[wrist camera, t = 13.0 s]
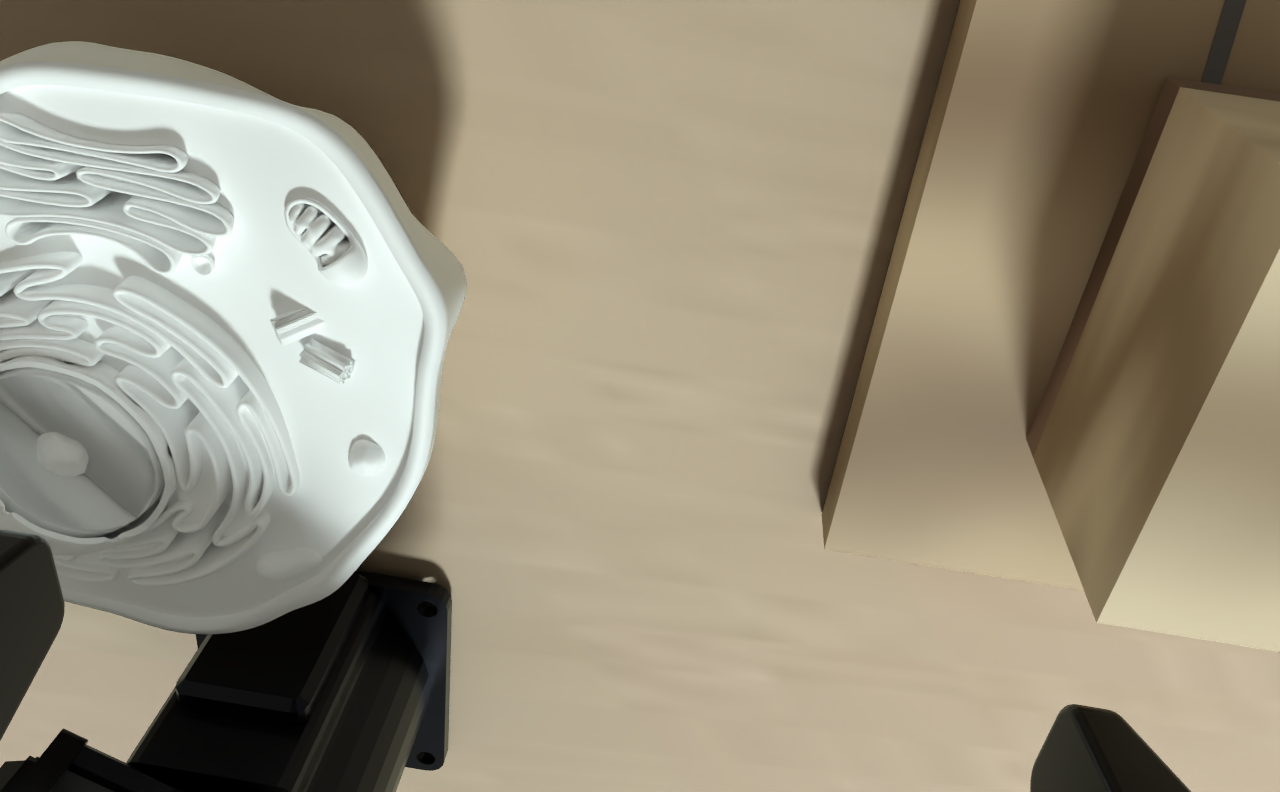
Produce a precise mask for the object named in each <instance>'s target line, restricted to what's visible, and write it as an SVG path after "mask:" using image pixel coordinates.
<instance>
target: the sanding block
mask: <svg viewBox="0 0 1280 792" xmlns="http://www.w3.org/2000/svg"><path fill="white" fill-rule="evenodd" d="M1026 441H1027V443H1028V446H1029V448H1030V451H1031V454H1032V456H1033V459H1034V461H1035V464H1036V467H1037V469H1038V472H1039V474H1040V477H1041V480H1042V482H1043V485H1044V487H1045V490H1046V493H1047V495H1048V498H1049V500H1050V503H1051V506H1052V508H1053V511H1054V513H1055V516H1056V519H1057V521H1058V524H1059V526H1060V529H1061V532H1062V534H1063V537H1064V539H1065V542H1066V545H1067V547H1068V550H1069V552H1070V555H1071V557H1072V560H1073V563H1074V565H1075V568H1076V570H1077V573H1078V576H1079V578H1080V581H1081V583H1082V586H1083V589H1084V591H1085V594H1086V596H1087V599H1088V602H1089V604H1090V607H1091V609H1092V612H1093V615H1094V617H1095V620H1096V622H1097V623H1102V624H1109V625H1115V626H1121V627H1127V628H1133V629H1140V630H1146V631H1152V632H1158V633H1165V634H1171V635H1177V636H1183V637H1189V638H1196V639H1202V640H1208V641H1214V642H1221V643H1227V644H1233V645H1239V646H1245V647H1252V648H1258V649H1264V650H1270V651H1277V652H1280V93H1274V92H1267V91H1260V90H1253V89H1246V88H1239V87H1233V86H1226V85H1219V84H1212V83H1205V82H1198V81H1191V80H1185V79H1178V78H1171V77H1167V78H1166V81H1165V84H1164V86H1163V89H1162V91H1161V94H1160V97H1159V99H1158V102H1157V104H1156V107H1155V109H1154V112H1153V115H1152V117H1151V120H1150V122H1149V125H1148V127H1147V130H1146V133H1145V135H1144V138H1143V140H1142V143H1141V145H1140V148H1139V151H1138V153H1137V156H1136V158H1135V161H1134V163H1133V166H1132V169H1131V171H1130V174H1129V176H1128V179H1127V181H1126V184H1125V187H1124V189H1123V192H1122V194H1121V197H1120V200H1119V202H1118V205H1117V207H1116V210H1115V212H1114V215H1113V218H1112V220H1111V223H1110V225H1109V228H1108V230H1107V233H1106V236H1105V238H1104V241H1103V243H1102V246H1101V248H1100V251H1099V254H1098V256H1097V259H1096V261H1095V264H1094V266H1093V269H1092V272H1091V274H1090V277H1089V279H1088V282H1087V284H1086V287H1085V290H1084V292H1083V295H1082V297H1081V300H1080V303H1079V305H1078V308H1077V310H1076V313H1075V315H1074V318H1073V321H1072V323H1071V326H1070V328H1069V331H1068V333H1067V336H1066V339H1065V341H1064V344H1063V346H1062V349H1061V351H1060V354H1059V357H1058V359H1057V362H1056V364H1055V367H1054V369H1053V372H1052V375H1051V377H1050V380H1049V382H1048V385H1047V388H1046V390H1045V393H1044V395H1043V398H1042V400H1041V403H1040V406H1039V408H1038V411H1037V413H1036V416H1035V418H1034V421H1033V424H1032V426H1031V429H1030V431H1029V434H1028V436H1027V439H1026Z"/></svg>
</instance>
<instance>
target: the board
mask: <svg viewBox="0 0 1280 792" xmlns="http://www.w3.org/2000/svg"><path fill="white" fill-rule="evenodd" d="M1167 77H1171V78H1178V79H1185V80H1191V81H1198V82H1205V83H1212V84H1219V85H1226V86H1233V87H1239V88H1246V89H1253V90H1260V91H1267V92H1274V93H1280V0H960V4H959V7H958V11H957V15H956V19H955V22H954V26H953V30H952V33H951V37H950V41H949V45H948V48H947V52H946V56H945V59H944V63H943V67H942V71H941V74H940V78H939V82H938V85H937V89H936V93H935V97H934V100H933V104H932V108H931V111H930V115H929V119H928V122H927V126H926V130H925V134H924V137H923V141H922V145H921V148H920V152H919V156H918V160H917V163H916V167H915V171H914V174H913V178H912V182H911V186H910V189H909V193H908V197H907V200H906V204H905V208H904V212H903V215H902V219H901V223H900V226H899V230H898V234H897V238H896V241H895V245H894V249H893V252H892V256H891V260H890V264H889V267H888V271H887V275H886V278H885V282H884V286H883V290H882V293H881V297H880V301H879V304H878V308H877V312H876V315H875V319H874V323H873V327H872V330H871V334H870V338H869V341H868V345H867V349H866V353H865V356H864V360H863V364H862V367H861V371H860V375H859V379H858V382H857V386H856V390H855V393H854V397H853V401H852V405H851V408H850V412H849V416H848V419H847V423H846V427H845V431H844V434H843V438H842V442H841V445H840V449H839V453H838V457H837V460H836V464H835V468H834V471H833V475H832V479H831V483H830V486H829V490H828V494H827V497H826V501H825V505H824V509H823V512H822V523H823V537H824V549H826V550H832V551H838V552H844V553H851V554H857V555H863V556H869V557H875V558H882V559H888V560H894V561H900V562H907V563H913V564H919V565H925V566H932V567H938V568H944V569H950V570H957V571H963V572H969V573H975V574H982V575H988V576H994V577H1000V578H1006V579H1013V580H1019V581H1025V582H1031V583H1038V584H1044V585H1050V586H1056V587H1063V588H1069V589H1075V590H1081V591H1084V589H1083V586H1082V583H1081V581H1080V578H1079V576H1078V573H1077V570H1076V568H1075V565H1074V563H1073V560H1072V557H1071V555H1070V552H1069V550H1068V547H1067V545H1066V542H1065V539H1064V537H1063V534H1062V532H1061V529H1060V526H1059V524H1058V521H1057V519H1056V516H1055V513H1054V511H1053V508H1052V506H1051V503H1050V500H1049V498H1048V495H1047V493H1046V490H1045V487H1044V485H1043V482H1042V480H1041V477H1040V474H1039V472H1038V469H1037V467H1036V464H1035V461H1034V459H1033V456H1032V454H1031V451H1030V448H1029V446H1028V443H1027V441H1026V439H1027V436H1028V434H1029V431H1030V429H1031V426H1032V424H1033V421H1034V418H1035V416H1036V413H1037V411H1038V408H1039V406H1040V403H1041V400H1042V398H1043V395H1044V393H1045V390H1046V388H1047V385H1048V382H1049V380H1050V377H1051V375H1052V372H1053V369H1054V367H1055V364H1056V362H1057V359H1058V357H1059V354H1060V351H1061V349H1062V346H1063V344H1064V341H1065V339H1066V336H1067V333H1068V331H1069V328H1070V326H1071V323H1072V321H1073V318H1074V315H1075V313H1076V310H1077V308H1078V305H1079V303H1080V300H1081V297H1082V295H1083V292H1084V290H1085V287H1086V284H1087V282H1088V279H1089V277H1090V274H1091V272H1092V269H1093V266H1094V264H1095V261H1096V259H1097V256H1098V254H1099V251H1100V248H1101V246H1102V243H1103V241H1104V238H1105V236H1106V233H1107V230H1108V228H1109V225H1110V223H1111V220H1112V218H1113V215H1114V212H1115V210H1116V207H1117V205H1118V202H1119V200H1120V197H1121V194H1122V192H1123V189H1124V187H1125V184H1126V181H1127V179H1128V176H1129V174H1130V171H1131V169H1132V166H1133V163H1134V161H1135V158H1136V156H1137V153H1138V151H1139V148H1140V145H1141V143H1142V140H1143V138H1144V135H1145V133H1146V130H1147V127H1148V125H1149V122H1150V120H1151V117H1152V115H1153V112H1154V109H1155V107H1156V104H1157V102H1158V99H1159V97H1160V94H1161V91H1162V89H1163V86H1164V84H1165V81H1166V78H1167Z"/></svg>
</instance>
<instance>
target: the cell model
mask: <svg viewBox="0 0 1280 792" xmlns="http://www.w3.org/2000/svg"><path fill="white" fill-rule="evenodd" d="M466 287H467V283H466V278H465V272H464V268H463V266H462V264H461V263H460V262H459V260H458V259H457V258H456V256H455V255H454V254H453V253H452V252H451V251H450V250H449V249H448V248H447V247H446V246H445V245H444V244H443V243H442V242H441V241H440V240H438V239H437V238H436V237H435V236H434V235H433V234H431V233H430V232H429V231H428V230H427V229H426V228H425V227H424V226H423V225H422V224H421V223H420V222H419V221H418V220H417V219H416V218H415V217H414V216H413V215H412V213H411V212H410V210H409V208H408V207H407V205H406V203H405V202H404V200H403V198H402V196H401V195H400V193H399V191H398V189H397V188H396V186H395V184H394V183H393V181H392V179H391V177H390V176H389V174H388V173H387V171H386V169H385V168H384V166H383V165H382V163H381V162H380V160H379V158H378V157H377V155H376V154H375V153H374V151H373V150H372V149H371V147H370V146H369V145H368V143H367V142H366V141H365V140H364V139H363V138H362V137H361V135H360V134H359V133H358V132H357V131H356V130H355V129H354V128H353V127H352V126H350V125H349V124H347V123H346V122H344V121H343V120H341V119H340V118H338V117H337V116H335V115H332V114H329V113H326V112H323V111H320V110H317V109H312V108H306V107H301V106H297V105H293V104H290V103H288V102H285V101H282V100H280V99H278V98H275V97H273V96H271V95H269V94H267V93H265V92H263V91H261V90H259V89H257V88H255V87H253V86H251V85H249V84H247V83H245V82H243V81H240V80H238V79H236V78H234V77H232V76H229V75H227V74H225V73H222V72H219V71H217V70H214V69H211V68H208V67H205V66H202V65H199V64H195V63H192V62H189V61H186V60H182V59H178V58H174V57H170V56H166V55H161V54H156V53H150V52H143V51H136V50H130V49H123V48H118V47H112V46H107V45H103V44H97V43H92V42H83V41H69V42H56V43H50V44H46V45H42V46H38V47H35V48H32V49H29V50H26V51H23V52H20V53H18V54H15V55H13V56H10V57H8V58H6V59H4V60H2V61H0V530H10V531H16V532H22V533H28V534H35V535H39V536H41V537H43V538H44V539H45V540H46V541H47V542H48V543H49V545H50V547H51V550H52V554H53V558H54V562H55V566H56V570H57V574H58V578H59V582H60V586H61V590H62V594H63V598H64V601H66V602H70V603H74V604H78V605H81V606H86V607H90V608H94V609H98V610H102V611H106V612H110V613H114V614H117V615H120V616H123V617H126V618H129V619H132V620H135V621H138V622H141V623H144V624H148V625H151V626H154V627H158V628H161V629H165V630H170V631H175V632H181V633H190V634H223V633H232V632H238V631H243V630H247V629H251V628H254V627H257V626H260V625H263V624H265V623H267V622H270V621H272V620H274V619H276V618H278V617H280V616H282V615H284V614H286V613H288V612H291V611H293V610H295V609H298V608H301V607H304V606H307V605H310V604H312V603H315V602H317V601H320V600H322V599H324V598H325V597H327V596H329V595H331V594H332V593H333V592H335V591H336V590H337V589H338V588H339V587H340V586H342V585H343V584H344V583H345V582H346V581H347V580H348V578H349V577H350V576H351V575H352V574H353V573H354V572H355V571H356V569H357V568H358V567H359V566H360V565H361V563H362V562H363V561H364V560H365V559H366V558H367V557H368V555H369V554H370V553H371V552H372V551H373V550H374V549H375V547H376V546H377V545H378V544H379V543H380V542H381V540H382V539H383V538H384V537H385V535H386V534H387V533H388V532H389V530H390V529H391V528H392V527H393V525H394V524H395V523H396V521H397V520H398V518H399V517H400V515H401V514H402V512H403V511H404V509H405V508H406V506H407V504H408V503H409V501H410V499H411V498H412V496H413V494H414V492H415V490H416V489H417V487H418V485H419V483H420V481H421V479H422V477H423V475H424V473H425V470H426V468H427V466H428V463H429V460H430V457H431V453H432V450H433V446H434V441H435V436H436V429H437V420H438V411H439V399H440V387H441V379H442V370H443V363H444V357H445V352H446V348H447V344H448V340H449V337H450V334H451V332H452V330H453V327H454V325H455V323H456V320H457V318H458V316H459V313H460V310H461V308H462V305H463V302H464V299H465V293H466Z"/></svg>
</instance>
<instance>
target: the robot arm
mask: <svg viewBox="0 0 1280 792" xmlns="http://www.w3.org/2000/svg"><path fill="white" fill-rule="evenodd" d="M425 602H430V603H432V604H434V605H435V606H430V605H428V604H426V603H425ZM451 616H452V600H451V596H450V594H449V593H448V592H447V590H446V589H444V588H443V587H441V586H440V585H437V584H433V583H428V582H422V581H416V580H410V579H404V578H398V577H392V576H386V575H379V574H373V573H367V572H361V571H355V572H354V573H353V574H352V575H351V576H350V577H349V578H348V580H347V581H346V582H345V583H344V584H343V585H342V586H340V587H339V588H338V589H337V590H336V591H335V592H333V593H332V594H331V595H329V596H327V597H325V598H324V599H322V600H320V601H317V602H315V603H312V604H310V605H307V606H304V607H301V608H298V609H295V610H293V611H291V612H288V613H286V614H284V615H282V616H280V617H278V618H276V619H274V620H272V621H270V622H267V623H265V624H263V625H260V626H257V627H254V628H251V629H247V630H243V631H238V632H232V633H223V634H196V639H197V645H198V650H197V652H196V653H195V655H194V656H193V658H192V659H191V661H190V662H189V664H188V666H187V667H186V669H185V670H184V672H183V673H182V675H181V676H180V678H179V679H178V681H177V684H176V686H175V688H174V690H173V691H172V693H171V694H170V696H169V697H168V699H167V700H166V702H165V703H164V705H163V707H162V708H161V710H160V711H159V713H158V714H157V716H156V717H155V719H154V720H153V722H152V724H151V725H150V727H149V728H148V730H147V731H146V733H145V734H144V736H143V737H142V739H141V741H140V742H139V744H138V745H137V747H136V748H135V750H134V751H133V753H132V754H131V756H130V758H129V759H128V761H127V762H126V763H124V762H122V761H120V760H118V759H116V758H114V757H112V756H109V755H107V754H105V753H103V752H101V751H99V750H97V749H95V748H92V747H90V746H88V745H86V744H87V742H88V740H87V739H85V738H83V737H81V736H79V735H76V734H74V733H72V732H70V731H68V730H66V729H62V731H61V732H60V733H59V734H58V735H57V737H56V738H55V739H54V740H53V742H52V743H51V744H50V745H49V747H48V748H47V749H46V750H45V752H44V753H43V754H42V755H41V757H40V758H39V757H36V758H34V757H32V756H29V757H28V758H27V759H26V760H25V761H8V762H5V763H4V764H3V765H2V766H1V768H0V792H396V790H397V787H398V784H399V781H400V779H401V776H402V773H403V770H404V768H405V767H409V768H415V769H421V770H432V771H433V770H436V769H439V768H440V767H442V766H443V763H444V760H445V757H446V754H447V751H448V731H449V692H450V654H451ZM63 617H64V598H63V594H62V590H61V586H60V582H59V578H58V574H57V570H56V566H55V562H54V558H53V554H52V550H51V547H50V545H49V543H48V542H47V541H46V540H45V539H44V538H43V537H41V536H39V535H35V534H28V533H22V532H16V531H10V530H0V740H1V739H2V737H3V735H4V733H5V731H6V729H7V727H8V725H9V724H10V722H11V720H12V718H13V716H14V714H15V712H16V711H17V709H18V707H19V705H20V703H21V701H22V699H23V697H24V696H25V694H26V692H27V690H28V688H29V686H30V684H31V682H32V681H33V679H34V677H35V675H36V673H37V671H38V669H39V668H40V666H41V664H42V662H43V660H44V658H45V656H46V654H47V653H48V651H49V649H50V647H51V645H52V643H53V641H54V639H55V638H56V636H57V634H58V632H59V630H60V627H61V624H62V621H63ZM1030 790H1031V792H1191V791H1190V790H1189V789H1188V788H1187V787H1186V786H1185V784H1184V783H1183V782H1182V781H1181V780H1180V779H1179V778H1178V777H1177V776H1176V775H1175V774H1174V773H1173V772H1172V770H1171V769H1170V768H1169V767H1168V766H1167V765H1166V764H1165V763H1164V762H1163V761H1162V760H1161V759H1160V757H1159V756H1158V755H1157V754H1156V753H1155V752H1154V751H1153V750H1152V749H1151V748H1150V747H1149V746H1148V745H1147V743H1146V742H1145V741H1144V740H1143V739H1142V738H1141V737H1140V736H1139V735H1138V734H1137V733H1136V732H1135V731H1134V729H1133V728H1132V727H1131V726H1130V725H1129V724H1128V723H1127V722H1126V721H1125V720H1124V719H1123V718H1122V717H1121V716H1120V715H1118V714H1117V713H1115V712H1113V711H1110V710H1106V709H1100V708H1094V707H1088V706H1082V705H1076V704H1072V705H1067V706H1065V707H1064V708H1063V709H1062V710H1061V711H1060V713H1059V714H1058V716H1057V718H1056V720H1055V722H1054V724H1053V726H1052V728H1051V730H1050V732H1049V734H1048V736H1047V738H1046V740H1045V742H1044V744H1043V746H1042V749H1041V751H1040V753H1039V755H1038V757H1037V759H1036V761H1035V763H1034V766H1033V770H1032V775H1031V787H1030Z"/></svg>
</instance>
